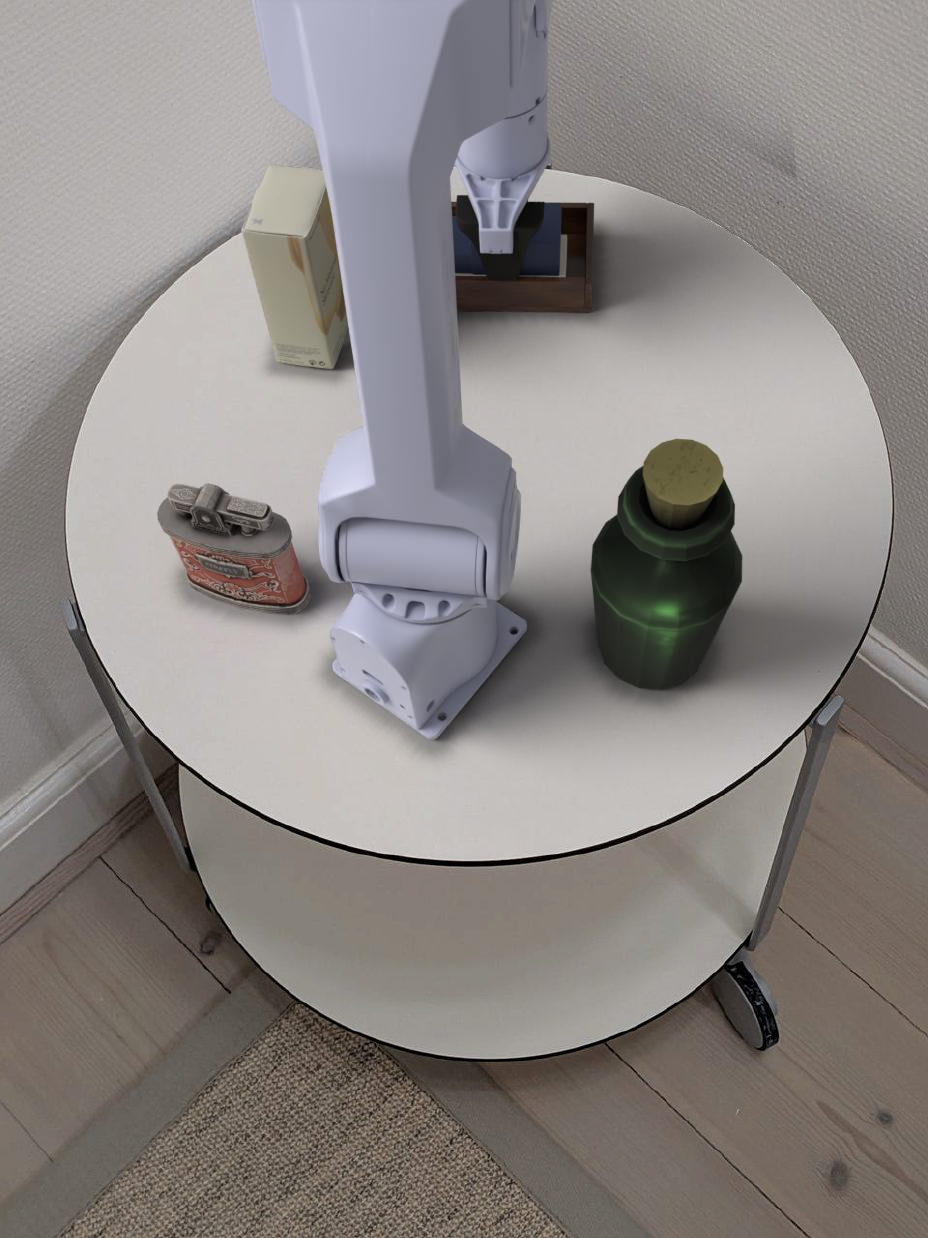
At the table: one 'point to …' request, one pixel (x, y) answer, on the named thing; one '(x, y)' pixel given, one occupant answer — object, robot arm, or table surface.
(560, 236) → the chalkboard eraser
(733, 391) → the table surface
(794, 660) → the table surface
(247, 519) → the lighter
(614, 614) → the potion bottle
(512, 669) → the table surface
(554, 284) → the tray
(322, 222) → the cosmetic box
